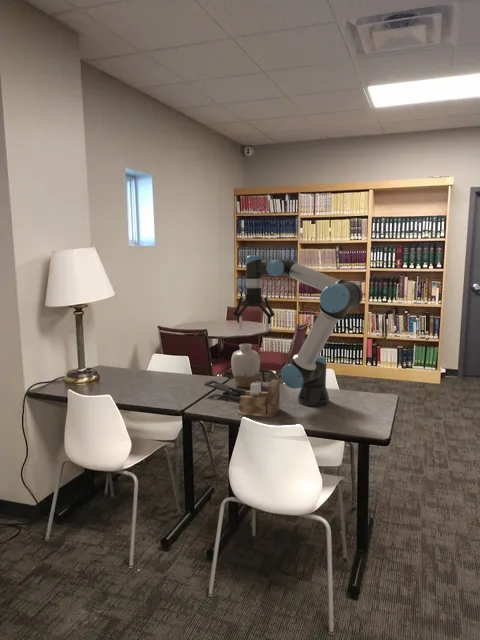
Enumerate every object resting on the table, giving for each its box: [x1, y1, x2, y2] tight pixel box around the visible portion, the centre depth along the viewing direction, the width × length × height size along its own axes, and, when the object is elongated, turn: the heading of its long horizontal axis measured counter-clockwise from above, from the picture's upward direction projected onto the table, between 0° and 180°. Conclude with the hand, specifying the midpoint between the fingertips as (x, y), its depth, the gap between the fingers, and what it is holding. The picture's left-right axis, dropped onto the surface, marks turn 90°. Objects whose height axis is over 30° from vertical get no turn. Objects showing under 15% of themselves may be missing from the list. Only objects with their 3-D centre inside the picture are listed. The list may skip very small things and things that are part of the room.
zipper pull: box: [203, 379, 247, 403], centre depth 241 cm, size 9×7×25 cm
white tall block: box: [249, 382, 262, 397], centre depth 219 cm, size 4×4×12 cm
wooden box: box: [237, 379, 281, 418], centre depth 218 cm, size 17×12×14 cm
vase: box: [230, 343, 261, 389], centre depth 261 cm, size 16×16×23 cm
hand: (253, 330), depth 236 cm, fingers open, 13 cm apart
